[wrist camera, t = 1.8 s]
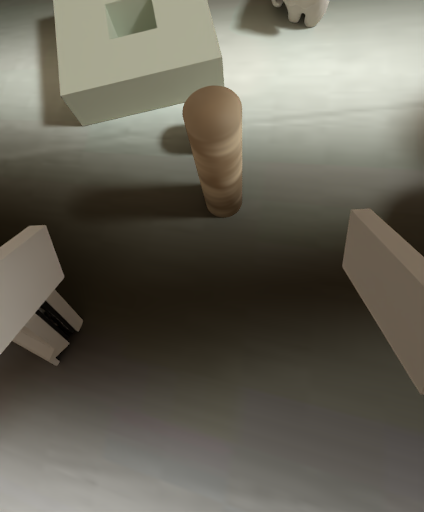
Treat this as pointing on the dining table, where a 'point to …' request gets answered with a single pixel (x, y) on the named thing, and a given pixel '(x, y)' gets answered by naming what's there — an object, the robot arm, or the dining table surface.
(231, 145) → the maple pin
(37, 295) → the robot arm
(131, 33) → the sage block
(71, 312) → the magnetic window cleaner
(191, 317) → the dining table surface
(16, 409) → the dining table surface
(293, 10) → the elephant figurine
